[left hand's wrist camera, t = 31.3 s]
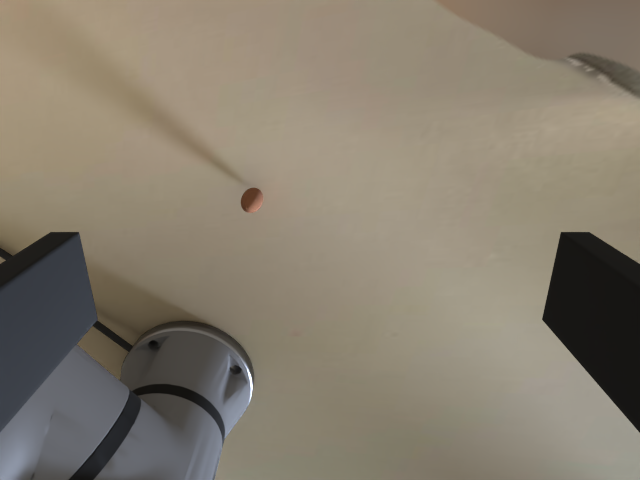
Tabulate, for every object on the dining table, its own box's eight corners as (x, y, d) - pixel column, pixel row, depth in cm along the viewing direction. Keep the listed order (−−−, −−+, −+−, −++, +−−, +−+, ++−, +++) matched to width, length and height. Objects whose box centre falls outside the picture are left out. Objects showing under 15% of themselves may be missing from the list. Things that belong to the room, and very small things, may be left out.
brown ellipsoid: (254, 206, 46) (246, 222, 41) (241, 190, 45) (232, 205, 41) (269, 195, 45) (263, 210, 41) (257, 179, 45) (250, 193, 40)
